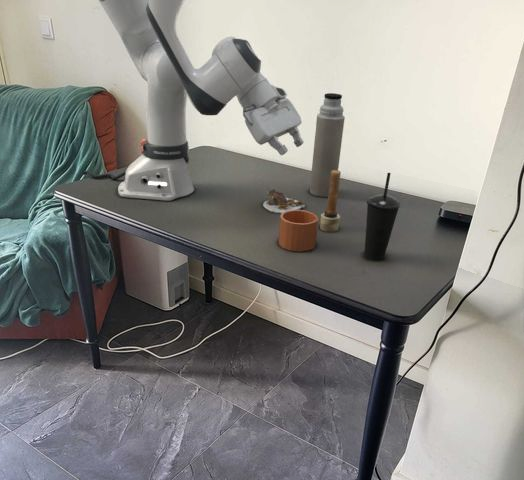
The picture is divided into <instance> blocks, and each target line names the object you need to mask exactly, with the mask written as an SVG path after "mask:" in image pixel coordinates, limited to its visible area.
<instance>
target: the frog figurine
mask: <svg viewBox="0 0 524 480" xmlns="http://www.w3.org/2000/svg"><path fill="white" fill-rule="evenodd" d="M266 193H267V194H266V196H268V197H271V198H270V199H267V200H265V201H264V202H263V203H262V206H263V208H265V209H266V210H268V211H270V212H271V213H275V214H276V213H277V214H282V213H283V212H285V211H289V210H302V209H303V208H306V204H305V202H304V201H303V200H297V199H294V198H290V197H286V196H285V194H284V193H283V192H280V191H276V189H275V188H272V189H271V190H270V189H269V190H267V191H266Z"/></svg>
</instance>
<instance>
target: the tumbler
mask: <svg viewBox="0 0 524 480" xmlns="http://www.w3.org/2000/svg"><path fill="white" fill-rule="evenodd" d="M318 226H319V216H318V215H317V214H316V213H314V212H312V211H308V210H303V209H300V210H289V211H285V212H283V213H280V215H279V227H278V229H279V230H278V244H279V246H280V247H281V248H282V249H285V250H287V251H291V252H307V251H311V250H313V249H314V248H315V247H316V243H317V234H318Z"/></svg>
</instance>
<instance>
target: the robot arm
mask: <svg viewBox="0 0 524 480" xmlns="http://www.w3.org/2000/svg"><path fill="white" fill-rule="evenodd" d="M98 1H99V4H100V5H101V7H102V9H103V10H104V11H105V13H106V15H107V16H108V19H109V20H110V22H111V24H112V25H113V27H114V28H115V30H116V32H117V33H118V35H119V37H120V39H121V41H122V44H123V45H124V47H125V48H126V51H127V53H128V55H129V57H130V59H131V60H132V62H133V64H134V66H135V68H136V70H137V72H138V73H139V75H140V76H141V78H142V79H143V80H144V81H146V82H147V102H146V109H145V124H146V134H147V135H146V136H147V139H146V138H143V139H142V140H141V141H140V150H141V155H140V156H139V157H137V158H136V159H135V160H134V161H133V162H132V163H130V164H129V165H127V166H126V170H125V171H123V172H121V173H119V174H117V175H114V174H112V173H103V174H94V173H92V172H91V171H90V170H84V171H83V172H82V173H81V174H82V176H86V175H89V177H92V178H94V179H103V178H111V180H118V179H120V178H122V177H124V180H123V181H122V182H120V183H119V185H118V188H117V191H118V192H117V193H118V196H120V197H121V198H131V199H142V200H155V201H165V202H166V201H167V202H168V201H169V202H170V201H173V200H175V199H178V198H182V197H187V196H188V195H190V194H191V195H192V193H193V192H194V191H195V188H194V184H193V181H192V177H191V172H190V166H189V161H190V146H189V142H188V140H187V117H186V116H187V115H186V112H187V102H188V99H189V102H190V104H191V106H192V107H193V108H194V109H195V110H196V111H197V112H198V113H200V115H202V116H218V115H219V113H220V112H222V110H223V109H224V108H225V107H226V106H227V104H228V103H230V102H231V101H232V100H233V99H234V98H235V97H236V98H237V101H238V104H239V105H240V106H241V108H242V116H243V118H244V122H245V125H246V127H247V129H248V131H249V133H250V134H251V136H252V138H253V139H254V141H255V142H256V143H257V144H258V145H260V146H263V145H265V144H267V143H268V144H269V146H271V147H272V148H273V149H274V150H276V151H277V153H278V154H279V155H280V156H283V155H286V153H288V151H289V150H288V148H287V146H286V145H285V144H283V143H281V141H280V140H279V138H280V137H282V136H284V135H287V134H289V135H290V136H292V139H293V144H294V145H295V147H297V148H299V147H301V146H302V145H303V144H304V143H305V142H304V140H303V138H302V137H301V133H300V129H299V127H300V125H301V124H302V122H303V121H302V117H301V116H300V114H299V112H298V110H297V109H296V108H295V105H294V104H293V103H292V101H291V100H290V99H289V98H288V97H287V96H288V93H287V92H286V90H285V89H284V88H282V87H278V86H275V85H273V84H272V83H270V81H269V80H268V79H267V77H265V76H264V75H263V74H262V72H261V68H262V67H261V66H262V60H261V59H259V57H258V56H257V54H256V53H255V51H254V50H253V47H252V45H251V43H250V42H249V41H248V40H247V39H243V38H236V37H235V36H227V37H225V38H223V39H221V40H220V41H219V42H218V43H217V44H216V45H215V46H214V48H213V50H212V52H211V58H209V59H208V61H206V62H205V63H204V64H203V65H202V66H201V67H199V68H195V67H194V65H193V62H192V61H191V59H190V58H189V56H188V53H187V52H186V50H185V48H184V46H183V44H182V42H181V41H180V38H179V35H178V33H177V22H178V18H179V14H180V12H181V9H182V7H183V5H184V3H185V0H98Z"/></svg>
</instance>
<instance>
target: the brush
mask: <svg viewBox="0 0 524 480" xmlns="http://www.w3.org/2000/svg"><path fill="white" fill-rule="evenodd" d="M341 175H342V172H341V171H340V170H339V169H338V170H333V171H331V178H330V186H329V195H328V197H327V203H326V204H327V205H326V210H325V211H324V212H322V213H321V214H320V221H319V229H320V230H321V231H324V232H328V233H332V232H333V233H334V232H337V231H338V230H339V226H340V219H341V216H340V214H339V213H338V212H337V205H338V197H339V190H340V181H341Z"/></svg>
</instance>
